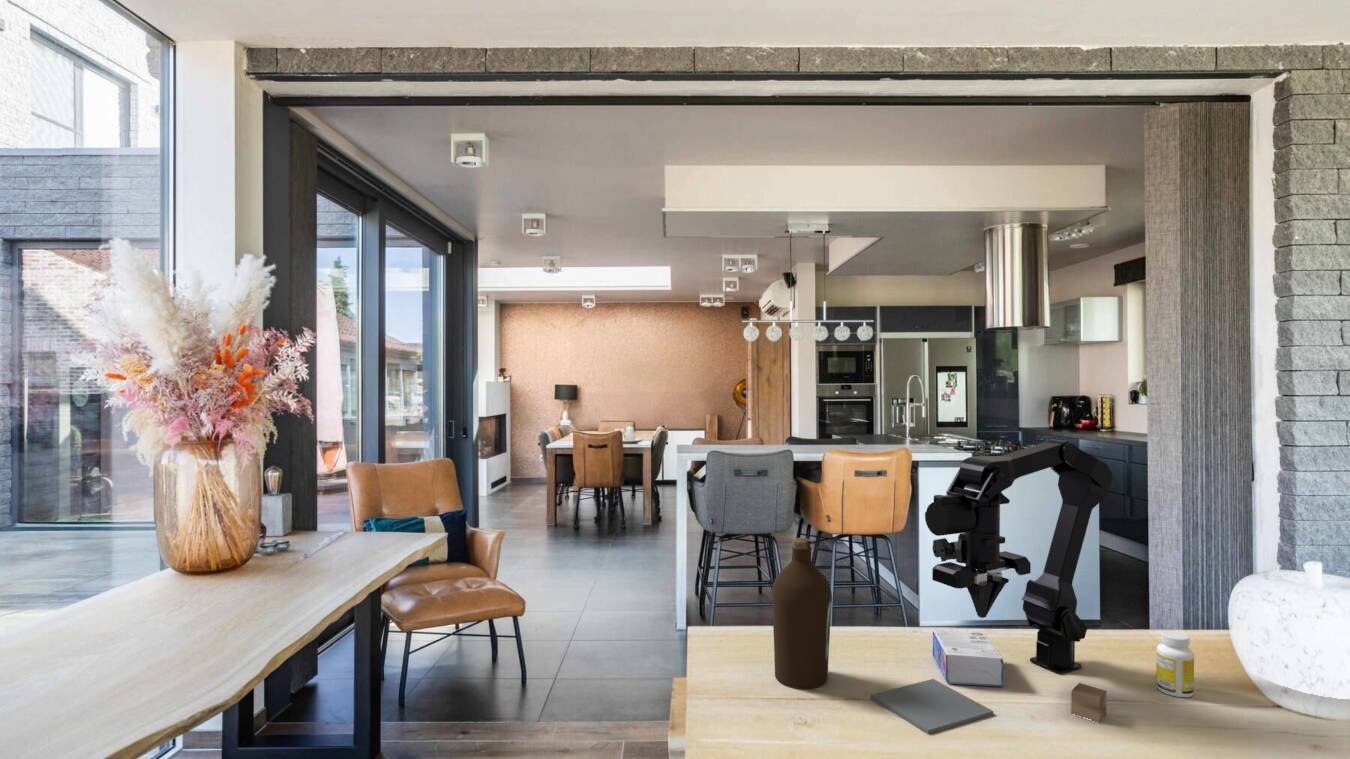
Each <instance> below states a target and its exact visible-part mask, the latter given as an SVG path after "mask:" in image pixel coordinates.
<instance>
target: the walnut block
mask: <svg viewBox="0 0 1350 759" xmlns="http://www.w3.org/2000/svg"><path fill="white" fill-rule="evenodd" d="M1107 692H1108V691H1107V689H1103V688H1098V687H1095V686H1092V685H1089V684H1085V683H1081V682H1079V683H1078V684H1077V685H1075V687H1073V688H1072V690H1071V695H1070V696H1071V700H1070V701H1071V702H1070V708H1071V709H1070V715H1071V714H1075V715H1078V716H1081V717H1085V718H1088V719H1091V720H1092V721H1091V722H1093V721H1095V722H1094V723H1096V722H1098V723H1097V724H1100V723H1101V722H1102V720H1103V719H1104V718H1105V717H1106V715H1107V694H1108V693H1107Z"/></svg>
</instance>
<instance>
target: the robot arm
mask: <svg viewBox="0 0 1350 759" xmlns="http://www.w3.org/2000/svg"><path fill="white" fill-rule="evenodd" d="M1046 469H1051V470H1052V471H1053V472H1054V473H1055V474H1056V475H1058V480H1057V481H1058V482H1057V487H1058V490H1059V493H1060V496H1061V499H1062V501H1061V507H1060V509H1059V513H1058V517H1057V521H1056V525H1055V529H1054V531H1053V535H1052V539H1051V543H1050V547H1049V550H1048V554H1047V557H1046V561H1045V564H1044V569H1043V572H1042V574H1041V575H1040V576H1039V577H1038V578H1036V579H1035V580H1032V579H1028V581H1027V583H1026V586H1025V592H1024V594H1023V596H1022V597H1021V600H1022V611H1023V612H1024V614H1025V617H1026V620H1027V624H1028V626H1029V627H1031V628H1034V629H1036V630H1038V631H1037V633H1036V634H1037V636H1036V638H1037V639H1036V642H1035V643H1036V644H1035V645H1036V646H1035V650H1036V651H1035V656H1032V657H1030V658H1029V661H1030V662H1032V663H1034V664H1035V665H1038V666H1040V667H1043V668H1045V669H1047V670H1049V671H1052V672H1054V673H1055V674H1056V673H1057V674H1059V675H1060V674H1061V675H1062V674H1064V673H1068V672H1069V673H1070V672H1072V671H1075V670H1079V669H1082V668H1083V664H1082V663H1079V662H1077V661H1075V660H1076V659H1075V656H1076V655H1075V654H1076V652H1075V648H1076V647H1075V646H1076V642H1077V643H1079V642H1081V640H1084V639H1085V637H1086V634H1087V631H1088V626H1087V625H1086V624H1085V623H1084V621H1083V620H1082V619H1081V618H1080V617H1079V615H1077V606H1078V600H1077V596H1076V594H1075V593H1076V592H1075V588H1074V587H1073V582H1074V577H1075V575H1076V574H1075V573H1076V571H1077V566H1078V563H1079V560H1080V556H1081V552H1082V547H1083V544H1084V541H1085V538H1086V533H1087V529H1088V525H1089V523H1090V519H1091V515H1092V511H1093V510H1094V509H1095V507H1097V505H1099V504H1100V503H1101V502H1102V501H1103V500H1104V499H1106V497H1107V493H1108V492H1109V489H1110V486H1111V484H1112V482H1113V472H1112V471H1111V469H1110V467H1109V465H1108V464H1107V463H1106V462H1105V461H1100V460H1099V458H1097V457H1094V456H1093V455H1091V454H1089V453H1087V452H1085V451H1084V450H1082V449H1081V448H1079V447H1078V446H1077V445H1076V444H1074V443H1072V442H1071V441H1069V440H1061V439H1054V438H1051V439H1047V440H1044V441H1043V442H1042V443H1038V444H1034V445H1032V446H1028V447H1025V448H1021V449H1018V450H1016V451H1012V452H1009V453H1006V454H1003V455H993V456H992V455H991V456H990V455H983V456H981V455H979V456H969V457H967V458H965V459H963V460H962V461H961V465H960V467H959V469H958V471H957V473H956V474H955V475H954V478H953V479H952V481H951V482H950V485H949V487H948V488H947V490H946V491H945V495H943V494H935V495H933V502H931V503H930V504H928V506H927V507H926V511H925V513H924V519H925V523H926V526H927V528H928V530H929V531H930V532H931V533H932V534H933V535H935V536H938V537H940V536H948V535H949V536H950V535H956V534H958V538H957V541H951V542H949V541H948V539H947V538H945V537H943V538H938V539H933V541H932V552H933V555H934V556H935V558H940V562H942V563H938V564H935V565H934V567H932V571H931V572H932V578H931V579H932V581H933V582H937V583H939V584H942V585H946V586H948V587H951V588H954V589H960V590H961V589H965V588H966V589H967V590H968V593H969V596H970V598H971V600H972V603H973V607H974V609H975V613H976V615H977V617H979V618H981V619H983V618H986V617H987V616H988V614H989V612H990V610H991V608H992V607H993V605H994V603H995V602H996V600H997V598H998V596H999V595H1000V593H1001V592H1002V590H1003V588H1004V587H1005V586H1006V585H1007V583H1009V580H1010V579H1009V578H1006V577H1003V573H1002V571H1006V570H1011V569H1013V570H1014V572H1016V574H1017V575H1018V576H1024V575H1029V574H1031V570H1032V568H1031V567H1032V566H1031V565H1032V564H1031V561H1030V560H1029V559H1028V557H1026V556H1025V555H1021V554H1016V553H1013V552H1010V551H1007V550H1004V551H1001V550H1000V548H1001V546H1000V545H1001V544H1005V543H1006V537H1005V536H1002V535H1001V531H1000V530H1001V505H1006V504H1007V505H1009V504H1010V499H1009V498H1008V497H1007V496H1006V495H1004V494H1003V492H1004V491H1005V490H1007V489H1008V488H1010V487H1012V485H1013V484H1014V482H1015V481H1016V480H1017V479H1019V478H1021V477H1025V476H1028V475H1030V474H1035V473H1037V472H1040V471H1042V470H1046ZM949 560H955V562H956V563H955V562H952V561H949ZM947 561H949V562H947ZM958 563H959V564H958ZM960 564H961V565H960ZM962 564H965V566H964V565H962Z"/></svg>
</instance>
